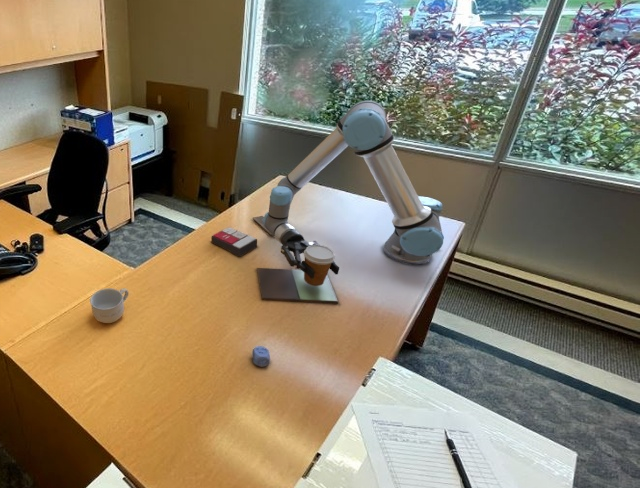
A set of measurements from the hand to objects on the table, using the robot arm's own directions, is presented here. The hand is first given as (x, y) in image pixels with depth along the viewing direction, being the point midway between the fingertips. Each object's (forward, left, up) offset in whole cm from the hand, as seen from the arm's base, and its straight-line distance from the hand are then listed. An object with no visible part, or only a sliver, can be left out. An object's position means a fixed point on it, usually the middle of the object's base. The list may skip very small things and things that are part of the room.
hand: (325, 273), depth 136 cm
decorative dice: (+23, +31, -10) cm, 40 cm away
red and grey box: (+27, -30, -10) cm, 41 cm away
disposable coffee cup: (+2, -4, -7) cm, 8 cm away
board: (+8, -4, -9) cm, 13 cm away
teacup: (+69, +16, -10) cm, 72 cm away
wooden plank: (+12, -45, -9) cm, 47 cm away
